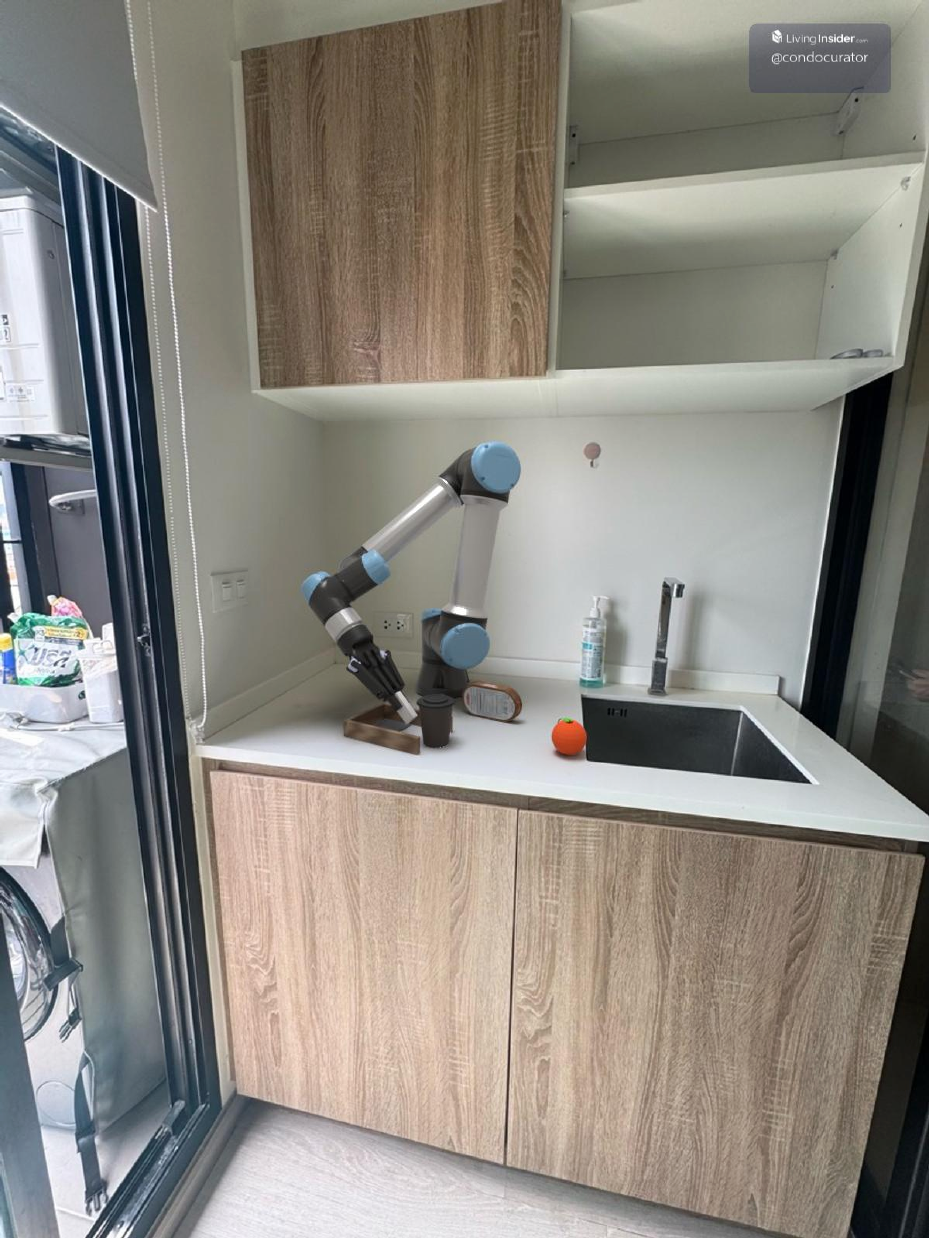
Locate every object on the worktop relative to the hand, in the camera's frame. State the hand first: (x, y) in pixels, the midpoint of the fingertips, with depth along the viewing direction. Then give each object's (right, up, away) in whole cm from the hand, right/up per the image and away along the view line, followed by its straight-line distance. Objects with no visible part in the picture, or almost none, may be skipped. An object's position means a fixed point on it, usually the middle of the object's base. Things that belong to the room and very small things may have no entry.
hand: (412, 719), depth 111 cm
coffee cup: (+5, -5, -1) cm, 7 cm away
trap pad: (-7, -3, +6) cm, 9 cm away
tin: (+17, -2, +14) cm, 22 cm away
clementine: (+32, -6, -5) cm, 33 cm away
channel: (-3, -4, +4) cm, 6 cm away
